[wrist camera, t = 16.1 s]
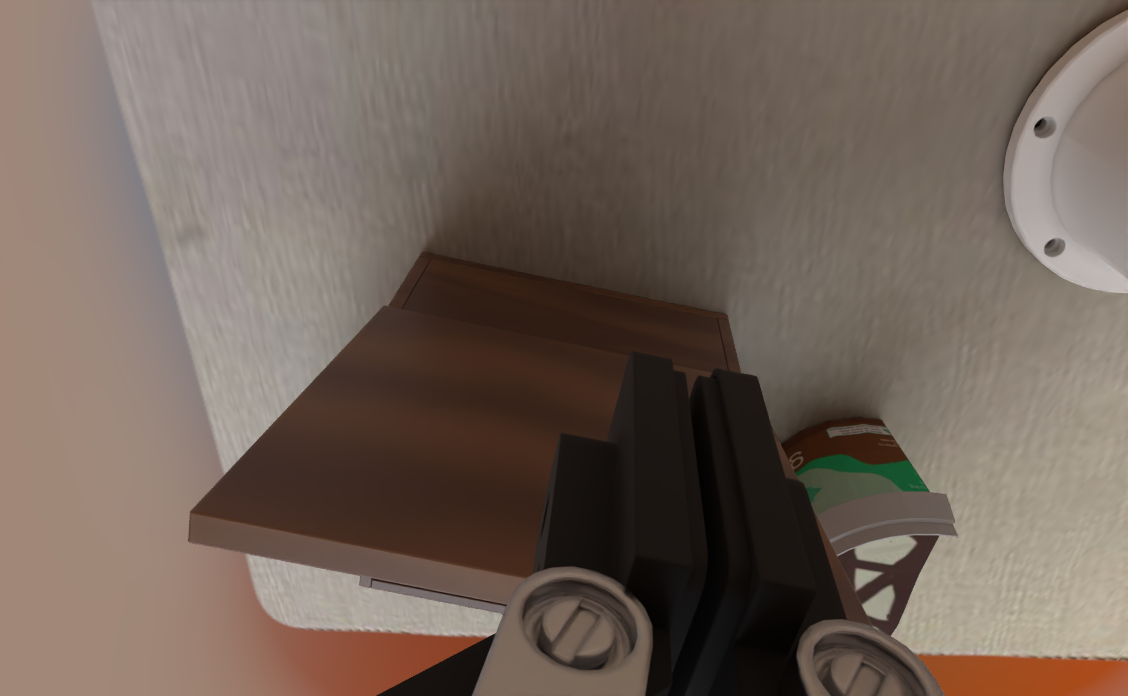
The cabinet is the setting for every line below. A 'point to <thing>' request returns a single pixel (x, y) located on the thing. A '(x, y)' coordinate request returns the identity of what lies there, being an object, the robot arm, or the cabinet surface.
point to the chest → (558, 332)
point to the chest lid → (426, 458)
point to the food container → (870, 510)
